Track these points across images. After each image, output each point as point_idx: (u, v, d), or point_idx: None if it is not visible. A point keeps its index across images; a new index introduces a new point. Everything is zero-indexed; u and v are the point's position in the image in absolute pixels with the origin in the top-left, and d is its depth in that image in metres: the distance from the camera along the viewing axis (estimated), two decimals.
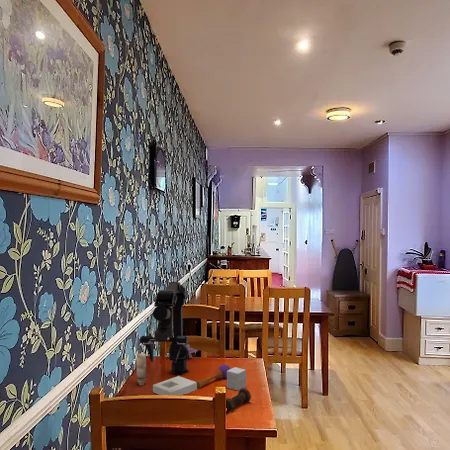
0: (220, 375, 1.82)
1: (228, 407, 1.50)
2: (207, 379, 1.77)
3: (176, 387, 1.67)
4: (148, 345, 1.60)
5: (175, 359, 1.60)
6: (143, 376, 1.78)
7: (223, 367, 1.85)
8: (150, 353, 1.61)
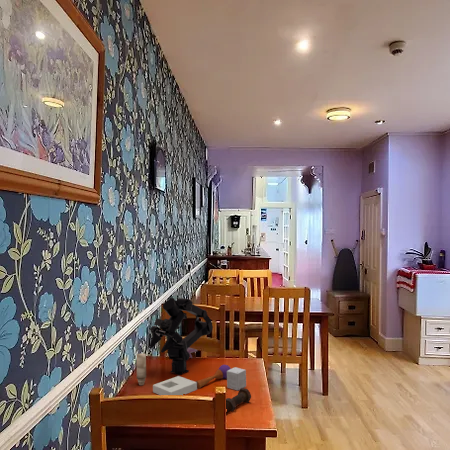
0: (220, 375, 1.82)
1: (229, 407, 1.50)
2: (207, 379, 1.77)
3: (176, 387, 1.67)
4: (153, 332, 1.91)
5: (162, 349, 1.81)
6: (143, 376, 1.78)
7: (223, 367, 1.84)
8: (151, 340, 1.89)
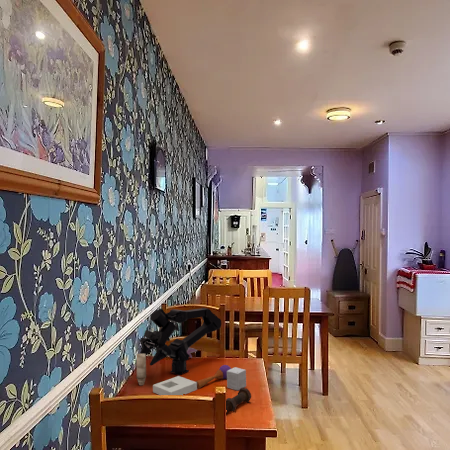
0: (220, 375, 1.81)
1: (230, 407, 1.50)
2: (207, 379, 1.77)
3: (176, 387, 1.67)
4: (142, 344, 1.87)
5: (151, 361, 1.77)
6: (143, 376, 1.78)
7: (224, 367, 1.84)
8: (141, 352, 1.86)
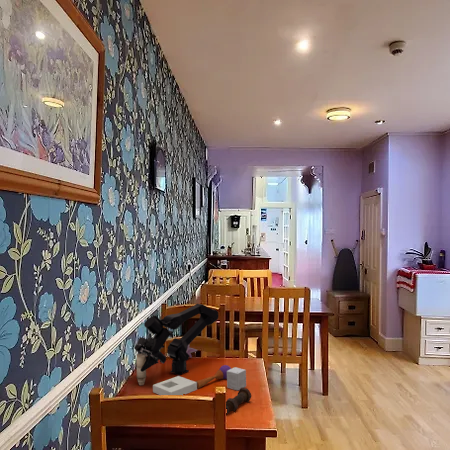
0: (220, 375, 1.81)
1: (232, 407, 1.50)
2: (207, 379, 1.77)
3: (176, 387, 1.67)
4: (139, 352, 1.83)
5: (142, 368, 1.77)
6: (143, 376, 1.78)
7: (224, 368, 1.84)
8: None
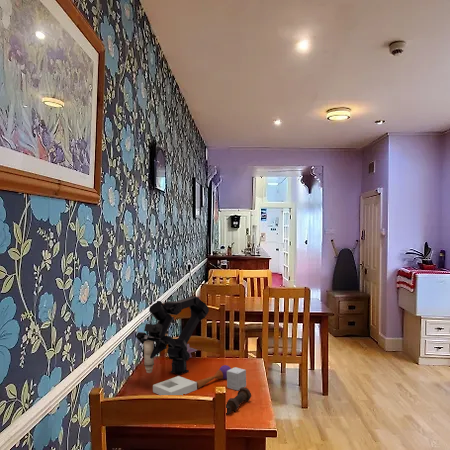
0: (220, 375, 1.81)
1: (233, 407, 1.50)
2: (206, 379, 1.77)
3: (176, 387, 1.67)
4: (144, 340, 1.78)
5: (151, 354, 1.73)
6: (152, 363, 1.74)
7: (224, 368, 1.84)
8: None
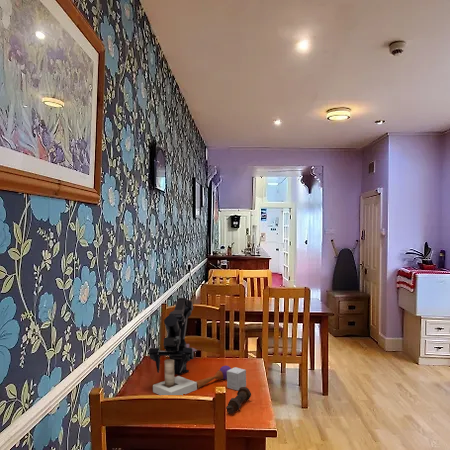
0: (220, 376, 1.81)
1: (235, 407, 1.50)
2: (206, 380, 1.77)
3: (176, 387, 1.67)
4: (156, 355, 1.73)
5: (180, 368, 1.69)
6: (174, 382, 1.70)
7: (224, 368, 1.83)
8: (157, 363, 1.71)
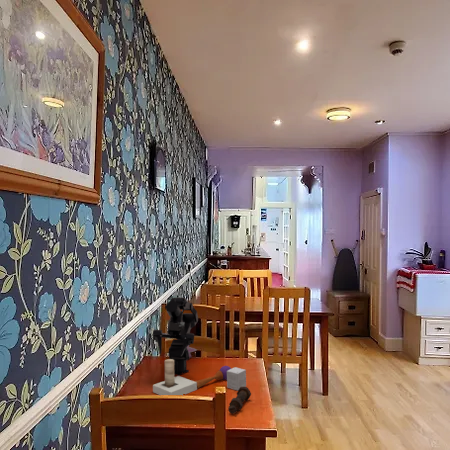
0: (220, 376, 1.80)
1: (237, 407, 1.50)
2: (206, 380, 1.76)
3: (176, 387, 1.67)
4: (160, 337, 1.81)
5: (182, 353, 1.79)
6: (174, 382, 1.70)
7: (224, 368, 1.83)
8: (160, 345, 1.80)
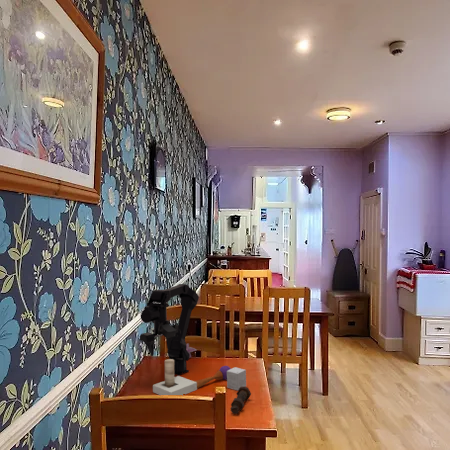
0: (219, 376, 1.80)
1: (240, 407, 1.50)
2: (206, 380, 1.77)
3: (176, 387, 1.67)
4: (153, 342, 1.75)
5: (170, 348, 1.84)
6: (174, 382, 1.70)
7: (224, 368, 1.83)
8: (152, 348, 1.77)
